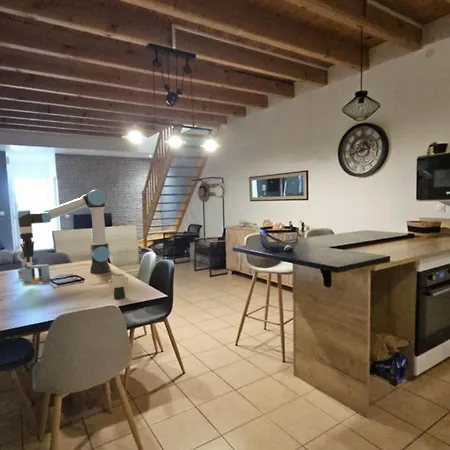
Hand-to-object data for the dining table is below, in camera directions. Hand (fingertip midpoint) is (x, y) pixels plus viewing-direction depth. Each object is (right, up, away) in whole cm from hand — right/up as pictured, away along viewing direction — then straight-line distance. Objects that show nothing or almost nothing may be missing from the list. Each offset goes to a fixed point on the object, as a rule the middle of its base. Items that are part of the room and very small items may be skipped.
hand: (30, 266), depth 225 cm
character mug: (+76, -13, -42) cm, 88 cm away
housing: (-3, -12, +11) cm, 16 cm away
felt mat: (+11, -11, +21) cm, 27 cm away
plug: (0, -12, +13) cm, 17 cm away
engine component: (-20, -12, +27) cm, 36 cm away
